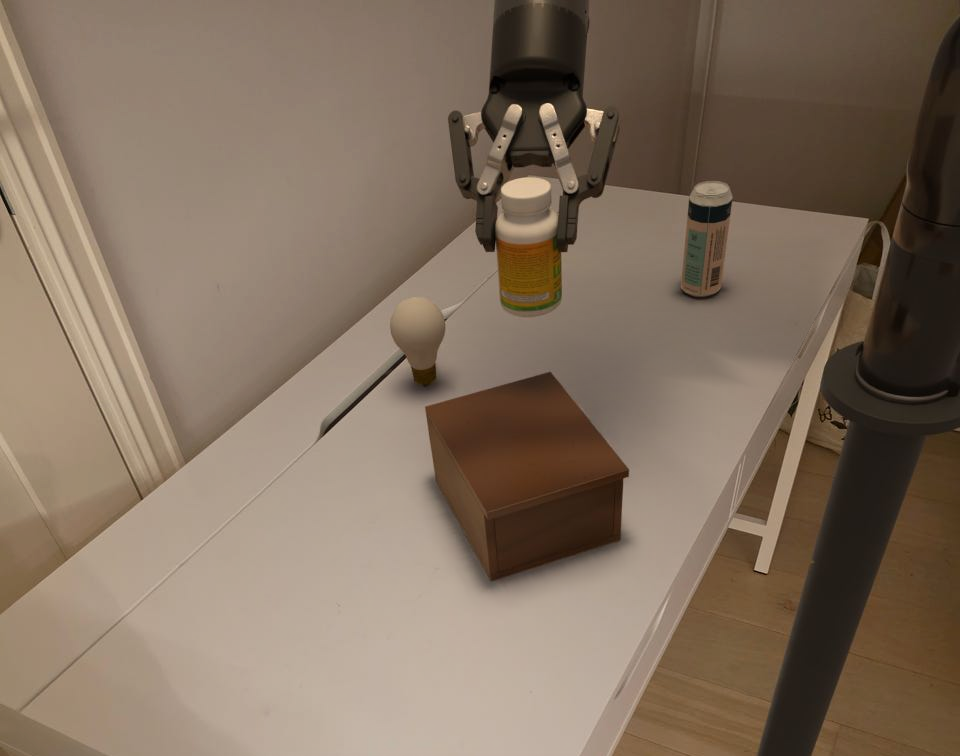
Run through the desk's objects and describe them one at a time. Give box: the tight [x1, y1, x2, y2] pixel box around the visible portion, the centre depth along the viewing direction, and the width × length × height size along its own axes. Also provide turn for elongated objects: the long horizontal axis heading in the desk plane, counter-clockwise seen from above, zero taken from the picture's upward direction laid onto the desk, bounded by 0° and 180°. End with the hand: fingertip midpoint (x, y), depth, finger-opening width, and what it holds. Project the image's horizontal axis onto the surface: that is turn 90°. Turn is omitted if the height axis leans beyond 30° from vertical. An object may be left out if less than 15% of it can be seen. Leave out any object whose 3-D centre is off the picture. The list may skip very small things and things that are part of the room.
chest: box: [425, 413, 625, 582], centre depth 80 cm, size 16×13×8 cm
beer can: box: [680, 180, 733, 298], centre depth 103 cm, size 5×5×12 cm
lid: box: [424, 371, 630, 520], centre depth 77 cm, size 16×13×1 cm
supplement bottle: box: [495, 176, 563, 318], centre depth 73 cm, size 5×5×10 cm
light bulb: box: [389, 296, 446, 387], centre depth 95 cm, size 6×6×10 cm
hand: (525, 248), depth 71 cm, fingers closed on supplement bottle, 5 cm apart
